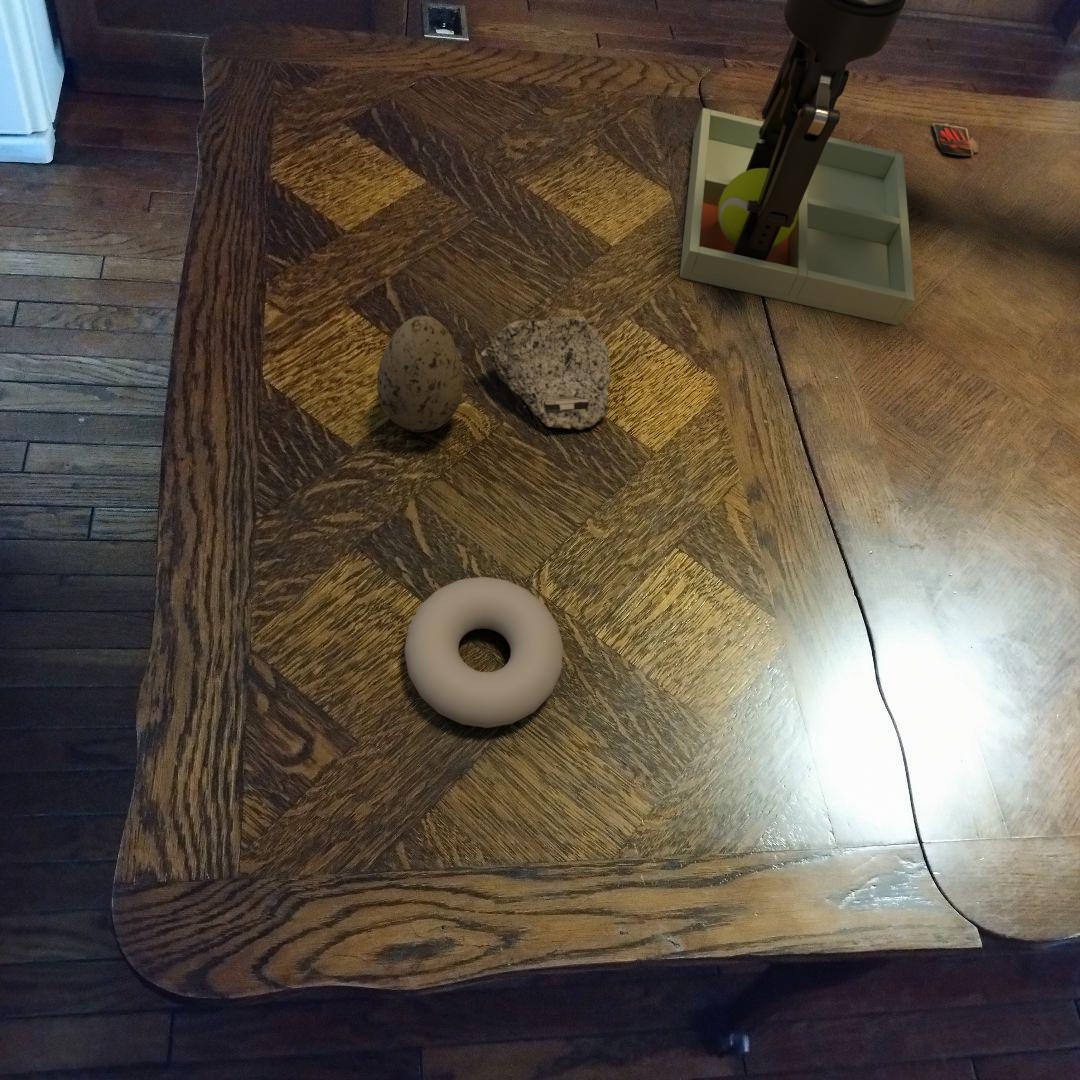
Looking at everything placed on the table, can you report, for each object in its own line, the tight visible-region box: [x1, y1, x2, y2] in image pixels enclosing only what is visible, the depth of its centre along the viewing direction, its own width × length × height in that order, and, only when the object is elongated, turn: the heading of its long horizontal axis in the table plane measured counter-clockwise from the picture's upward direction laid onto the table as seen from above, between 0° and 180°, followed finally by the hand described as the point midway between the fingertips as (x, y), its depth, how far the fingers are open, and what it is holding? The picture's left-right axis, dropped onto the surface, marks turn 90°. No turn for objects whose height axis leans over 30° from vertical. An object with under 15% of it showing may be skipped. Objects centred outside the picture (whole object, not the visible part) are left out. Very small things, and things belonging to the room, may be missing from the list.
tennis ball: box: [718, 168, 799, 248], centre depth 83 cm, size 7×7×7 cm
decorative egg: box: [376, 315, 464, 433], centre depth 68 cm, size 6×6×10 cm
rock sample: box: [481, 313, 619, 431], centre depth 74 cm, size 10×8×9 cm
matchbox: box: [929, 122, 981, 157], centre depth 100 cm, size 5×5×1 cm
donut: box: [404, 576, 564, 729], centre depth 62 cm, size 10×4×10 cm
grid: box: [679, 107, 916, 327], centre depth 88 cm, size 19×19×3 cm
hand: (745, 238), depth 86 cm, fingers closed on tennis ball, 7 cm apart
